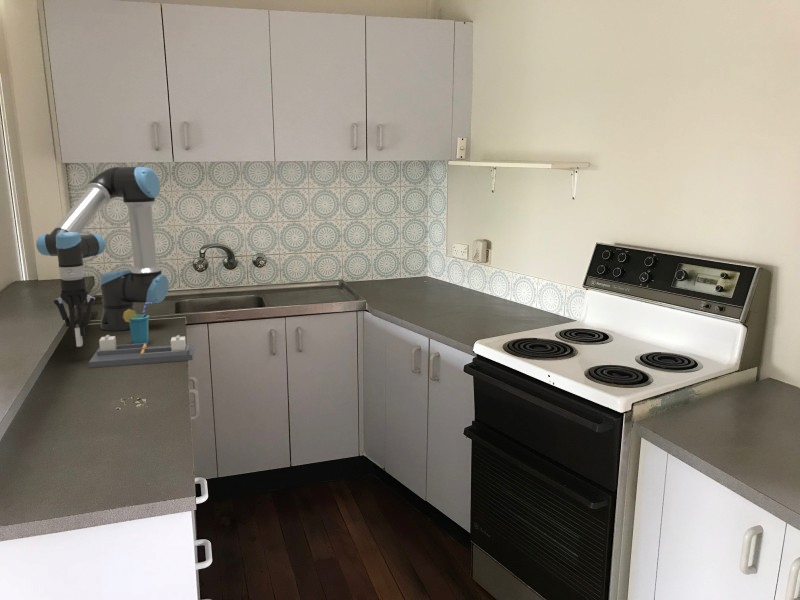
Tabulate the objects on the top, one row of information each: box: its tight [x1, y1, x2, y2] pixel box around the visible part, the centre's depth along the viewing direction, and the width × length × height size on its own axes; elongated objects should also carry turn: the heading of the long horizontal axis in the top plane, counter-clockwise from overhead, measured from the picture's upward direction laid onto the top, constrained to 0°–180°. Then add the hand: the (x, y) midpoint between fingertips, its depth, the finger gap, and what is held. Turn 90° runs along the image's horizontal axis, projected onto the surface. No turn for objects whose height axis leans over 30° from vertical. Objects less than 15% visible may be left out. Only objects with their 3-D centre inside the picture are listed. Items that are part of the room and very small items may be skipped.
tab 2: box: [170, 334, 187, 351], centre depth 233 cm, size 4×4×6 cm
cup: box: [123, 302, 154, 345], centre depth 251 cm, size 14×8×15 cm, turn 157°
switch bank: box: [88, 343, 196, 369], centre depth 234 cm, size 14×33×4 cm, turn 104°
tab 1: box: [98, 334, 117, 351], centre depth 234 cm, size 4×4×6 cm
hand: (79, 345), depth 232 cm, fingers closed
